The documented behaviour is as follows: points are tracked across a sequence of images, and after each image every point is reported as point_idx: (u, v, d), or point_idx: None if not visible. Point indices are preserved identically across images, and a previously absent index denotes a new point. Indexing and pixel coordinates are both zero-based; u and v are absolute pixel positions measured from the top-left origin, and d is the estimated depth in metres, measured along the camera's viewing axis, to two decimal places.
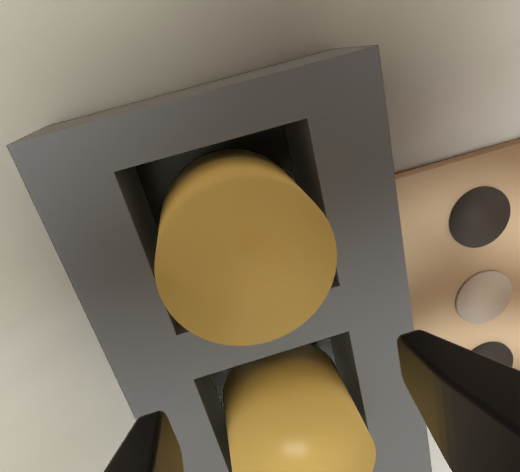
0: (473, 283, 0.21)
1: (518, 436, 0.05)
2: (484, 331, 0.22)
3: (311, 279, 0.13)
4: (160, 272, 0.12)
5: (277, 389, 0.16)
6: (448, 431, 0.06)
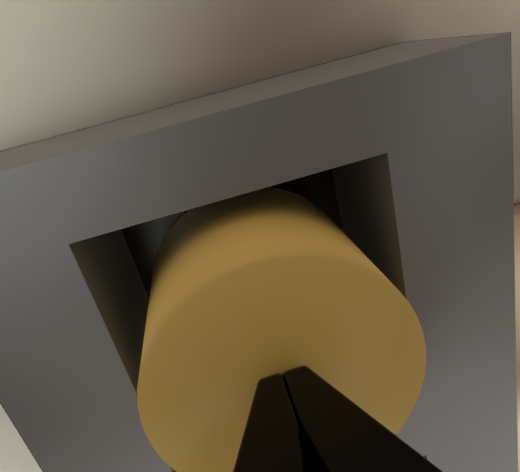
0: None
1: None
2: None
3: (384, 400, 0.08)
4: (147, 402, 0.07)
5: None
6: None
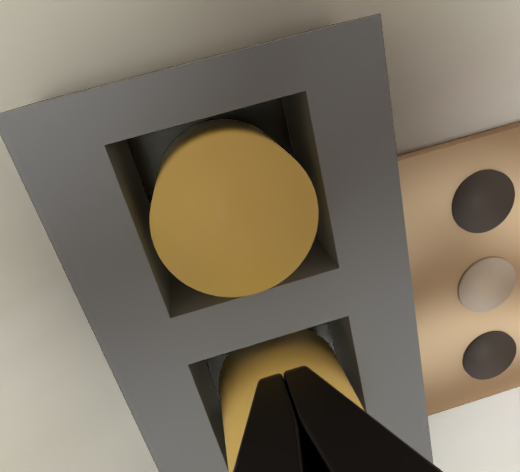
0: (476, 270, 0.20)
1: None
2: (487, 320, 0.22)
3: (294, 234, 0.14)
4: (155, 224, 0.13)
5: None
6: None
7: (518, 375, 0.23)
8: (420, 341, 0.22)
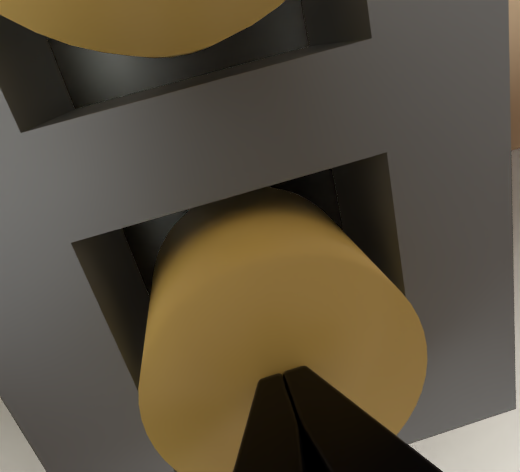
0: None
1: None
2: None
3: None
4: None
5: None
6: None
7: None
8: None
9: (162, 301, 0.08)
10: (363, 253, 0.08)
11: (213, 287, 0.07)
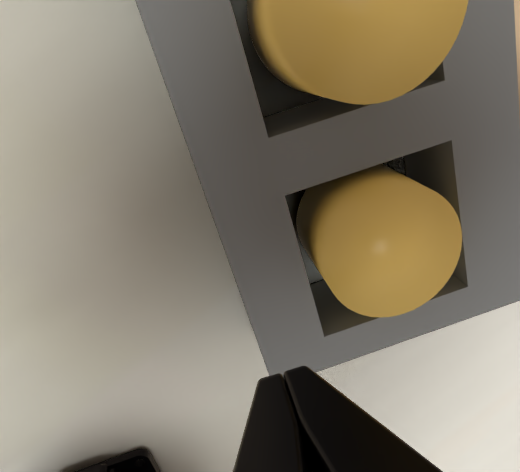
0: None
1: None
2: None
3: None
4: None
5: None
6: None
7: None
8: None
9: (330, 213, 0.15)
10: None
11: (363, 200, 0.14)
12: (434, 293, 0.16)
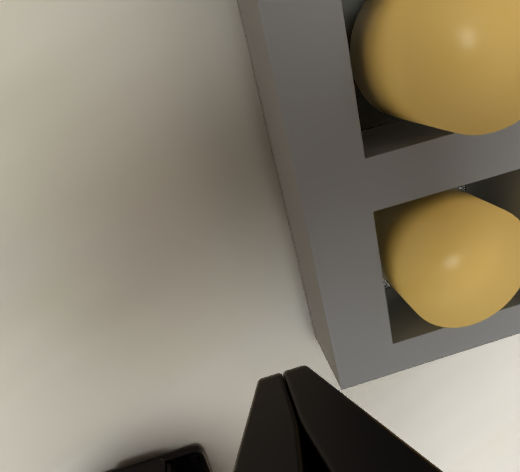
0: None
1: None
2: None
3: None
4: None
5: None
6: None
7: None
8: None
9: (412, 229, 0.17)
10: None
11: (447, 219, 0.16)
12: (499, 307, 0.18)
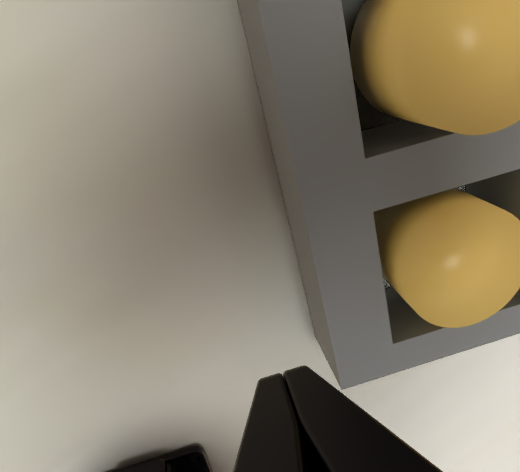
0: None
1: None
2: None
3: None
4: None
5: None
6: None
7: None
8: None
9: (412, 229, 0.17)
10: None
11: (447, 219, 0.16)
12: (499, 307, 0.18)
